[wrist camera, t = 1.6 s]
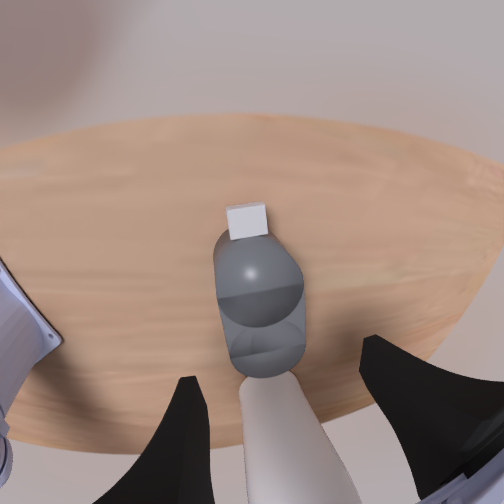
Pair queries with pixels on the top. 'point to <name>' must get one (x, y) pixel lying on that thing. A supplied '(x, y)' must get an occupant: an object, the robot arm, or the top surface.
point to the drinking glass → (288, 447)
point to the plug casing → (258, 295)
